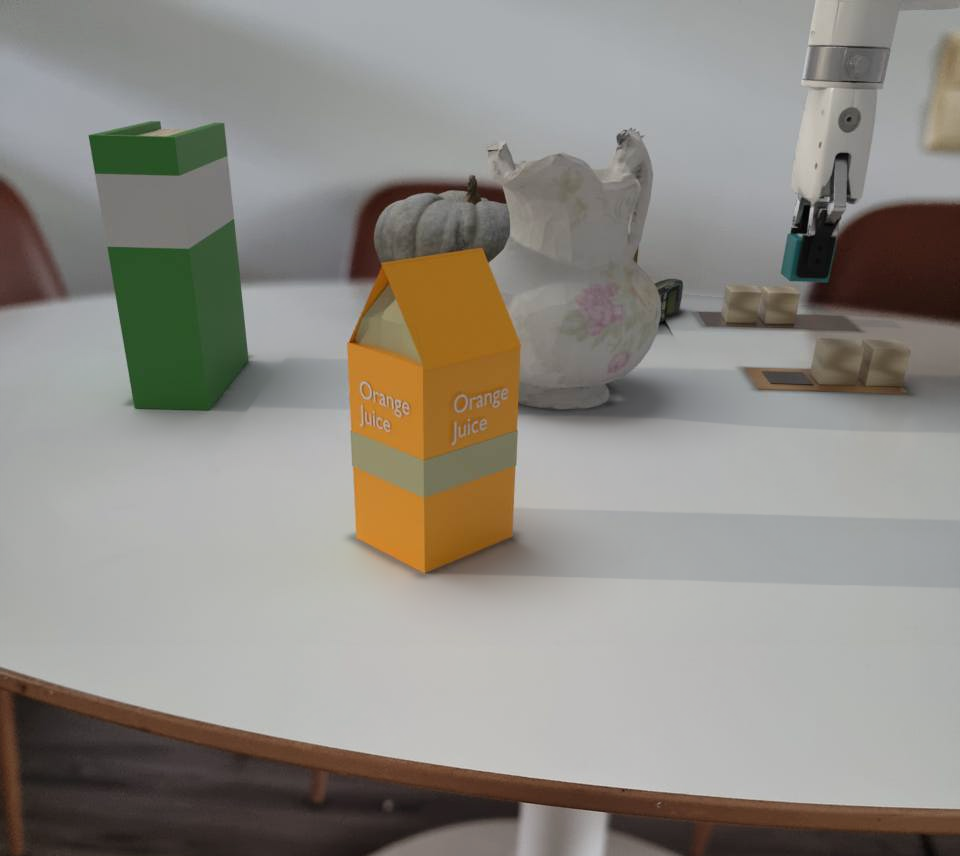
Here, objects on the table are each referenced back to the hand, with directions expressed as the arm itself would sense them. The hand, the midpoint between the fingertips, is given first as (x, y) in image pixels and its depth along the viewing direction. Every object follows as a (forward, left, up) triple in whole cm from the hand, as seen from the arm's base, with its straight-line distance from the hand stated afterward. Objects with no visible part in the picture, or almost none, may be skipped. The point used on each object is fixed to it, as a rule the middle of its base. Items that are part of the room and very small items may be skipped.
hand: (805, 271), depth 102 cm
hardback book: (+64, +6, -12) cm, 65 cm away
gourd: (+37, -33, -12) cm, 51 cm away
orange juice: (+36, +43, -12) cm, 57 cm away
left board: (-5, -27, -12) cm, 30 cm away
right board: (-4, 0, -12) cm, 13 cm away
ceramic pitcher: (+25, +6, -12) cm, 28 cm away
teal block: (0, 0, -1) cm, 1 cm away
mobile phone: (+11, -27, -12) cm, 31 cm away
